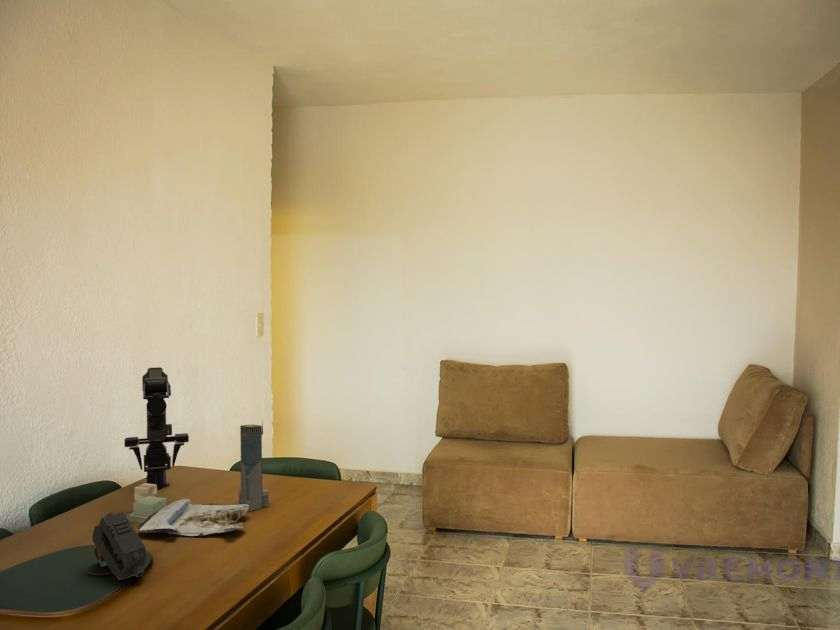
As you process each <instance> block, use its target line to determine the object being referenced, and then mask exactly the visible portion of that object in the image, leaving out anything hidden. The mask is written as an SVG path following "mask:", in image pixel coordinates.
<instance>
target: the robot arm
mask: <svg viewBox="0 0 840 630" xmlns="http://www.w3.org/2000/svg"><path fill="white" fill-rule="evenodd" d="M163 370H164V369H163V367H160V366H158V367H149V368H147V372H146V373H144V375H142V378H141V379H142V387H141V388H142V399H143V400H147V402H146V438H139V437H138V436H133V437H132V436H130V437H125V438H124V448H128V449H129V450H130V451H131V450H132V451H133V453H134V455H135V457H136V459H137V462H138V465H139V468H140V470H141V471H143V472H144V473H146V483H147V484H156V485H157V490H160V489H163V488H165V487H168V486H170V485H171V484H170V483H169V482H167V471H169V470H170V469H172V468H174V467H175V463H176V460H177V456H178V453H179V451H180V449H181V447H182V446H185V443H189V441H190V439H189V437H190V436H189V434H188V433H187V432H186V433H175V434H174V435H173V425H172V423H168V424H167V403H166V400H165V399H170V397H171V396H172V391H171V384H170V382H169V377H168V374H166V373H165V372H164V371H163ZM165 443H174V444H173V451H172V456H170V453H169V452H168V451H167V446H166V445H165ZM139 445H147V447H146V448H145V454H143V461H142V456H141V455H142V454H141V449H140V446H139Z"/></svg>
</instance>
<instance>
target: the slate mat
mask: <svg viewBox="0 0 840 630" xmlns="http://www.w3.org/2000/svg"><path fill="white" fill-rule="evenodd" d="M125 516H126V517H127V519H128V522H134V523H135V522H136V523H141V524H142V523H143V522H144V521H145V520H146V519H147V518H148V517H143V516H136V515H134V514H133V511H131V512H129V513H126V514H125Z"/></svg>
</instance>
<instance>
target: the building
mask: <svg viewBox="0 0 840 630" xmlns="http://www.w3.org/2000/svg"><path fill="white" fill-rule="evenodd" d="M239 428H240V430H239V431H240V489H238V504H248V505H249V508H248V510H247V512H246V513H250V512H254V511H253V510H255V511H258V510H257V509H259V510H262V509H263V508H262V507H264V508H267V507H266V506H269V507H270V491H269V490H268V489H266V488H263V453H262V452H263V447H262V446H263V443H262V441H263V439H262V438H263V437H262V436H263V434H264V427H263V421H261V425H260V424H243V425H242V424H241V425H240V427H239ZM261 508H262V509H261ZM249 511H250V512H249Z"/></svg>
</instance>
